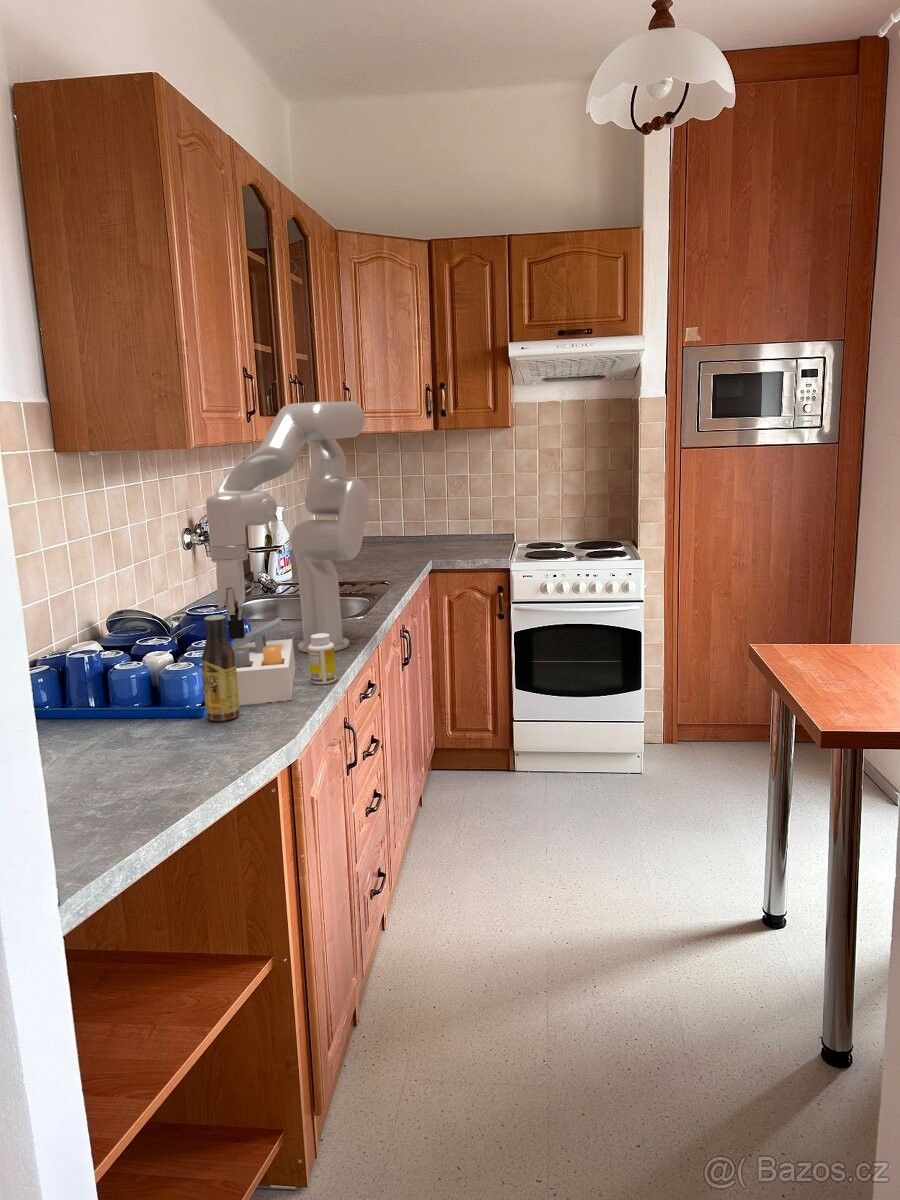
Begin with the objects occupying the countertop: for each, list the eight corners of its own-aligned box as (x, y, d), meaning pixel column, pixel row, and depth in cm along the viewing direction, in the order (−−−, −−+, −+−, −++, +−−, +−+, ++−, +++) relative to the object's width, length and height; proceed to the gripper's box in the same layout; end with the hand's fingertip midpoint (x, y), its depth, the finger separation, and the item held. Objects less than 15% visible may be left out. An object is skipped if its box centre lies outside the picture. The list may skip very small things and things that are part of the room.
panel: (236, 673, 200) (232, 628, 198) (295, 668, 201) (291, 624, 199) (225, 706, 176) (220, 655, 174) (291, 700, 178) (286, 650, 176)
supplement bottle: (337, 676, 193) (333, 631, 191) (336, 684, 188) (332, 637, 186) (311, 678, 193) (307, 633, 191) (310, 686, 187) (306, 639, 185)
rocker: (239, 647, 194) (234, 638, 194) (284, 625, 195) (279, 616, 194) (236, 654, 189) (231, 644, 188) (283, 631, 189) (278, 622, 189)
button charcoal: (235, 684, 183) (231, 649, 181) (252, 682, 183) (249, 647, 182) (233, 689, 179) (229, 653, 178) (251, 687, 180) (247, 652, 178)
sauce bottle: (201, 718, 170) (190, 617, 166) (231, 710, 174) (220, 611, 170) (216, 725, 165) (205, 622, 161) (247, 717, 169) (236, 615, 165)
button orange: (266, 681, 183) (263, 646, 182) (284, 680, 184) (281, 645, 182) (265, 686, 180) (262, 650, 178) (283, 684, 180) (280, 649, 179)
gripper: (215, 549, 194) (223, 631, 197) (206, 559, 179) (215, 647, 183) (250, 547, 195) (257, 629, 198) (244, 556, 180) (252, 644, 184)
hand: (237, 637), depth 191 cm, fingers closed
